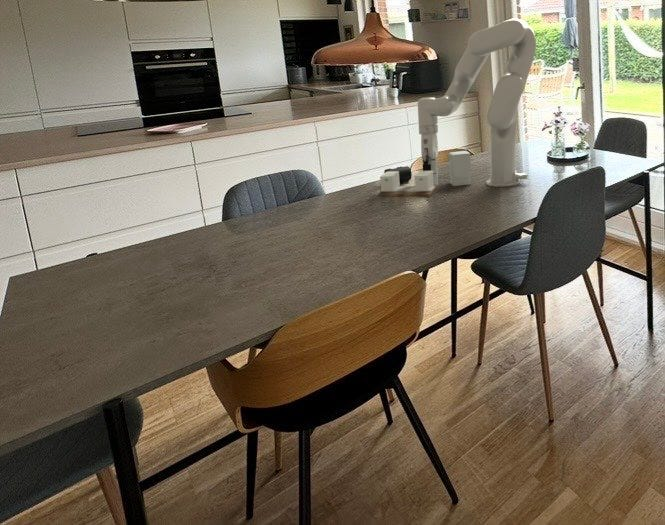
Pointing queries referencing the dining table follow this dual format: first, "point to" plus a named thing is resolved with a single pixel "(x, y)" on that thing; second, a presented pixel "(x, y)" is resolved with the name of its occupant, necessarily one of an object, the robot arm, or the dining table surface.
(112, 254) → the dining table surface
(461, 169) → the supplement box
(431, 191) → the rail board
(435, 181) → the syrup box
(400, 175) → the end cap
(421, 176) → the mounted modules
